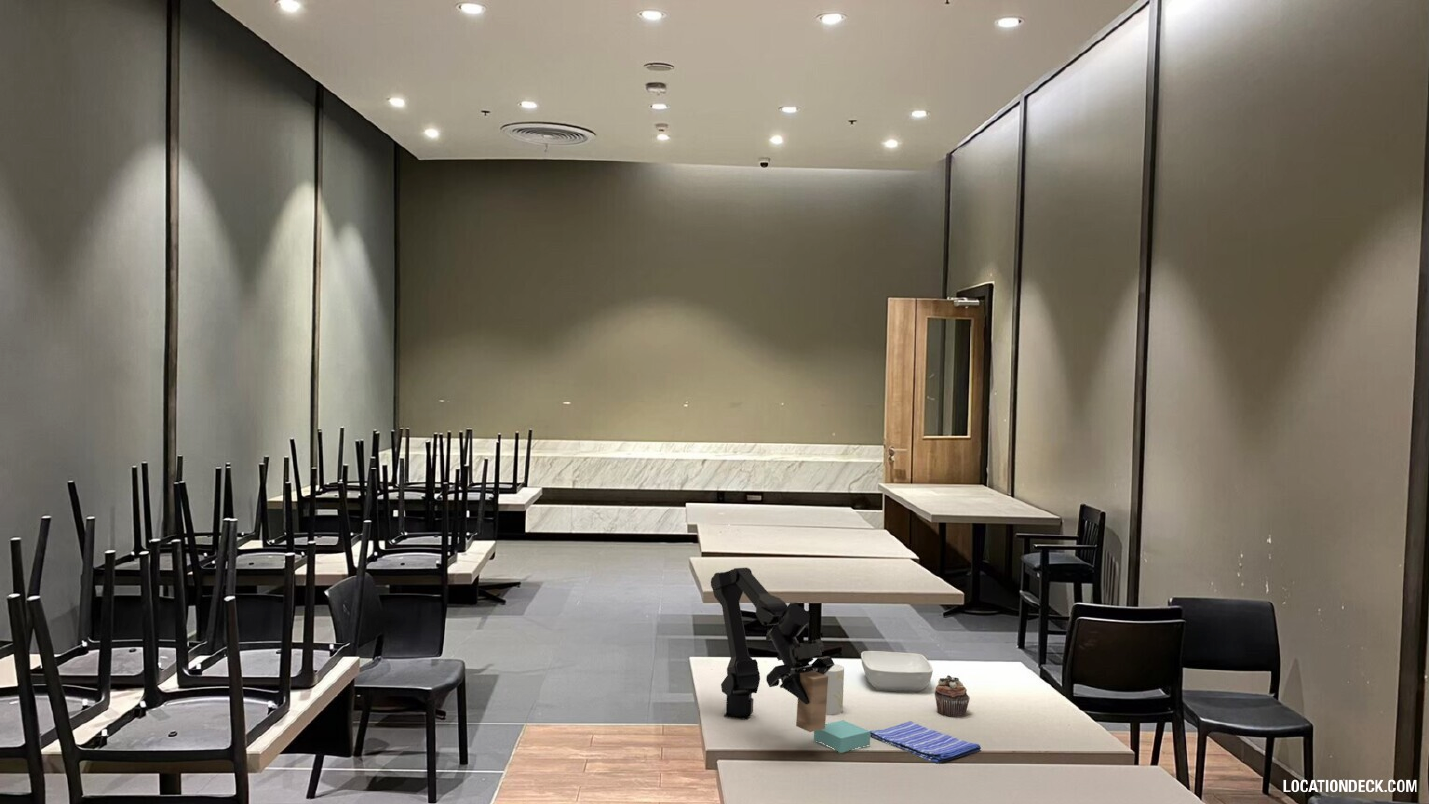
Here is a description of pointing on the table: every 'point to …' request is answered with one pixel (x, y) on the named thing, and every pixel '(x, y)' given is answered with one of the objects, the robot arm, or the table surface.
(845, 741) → the teal plinth
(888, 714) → the table surface
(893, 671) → the square bowl
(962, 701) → the cupcake
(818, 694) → the walnut pillar
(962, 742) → the dish towel
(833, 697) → the cup
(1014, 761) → the table surface
